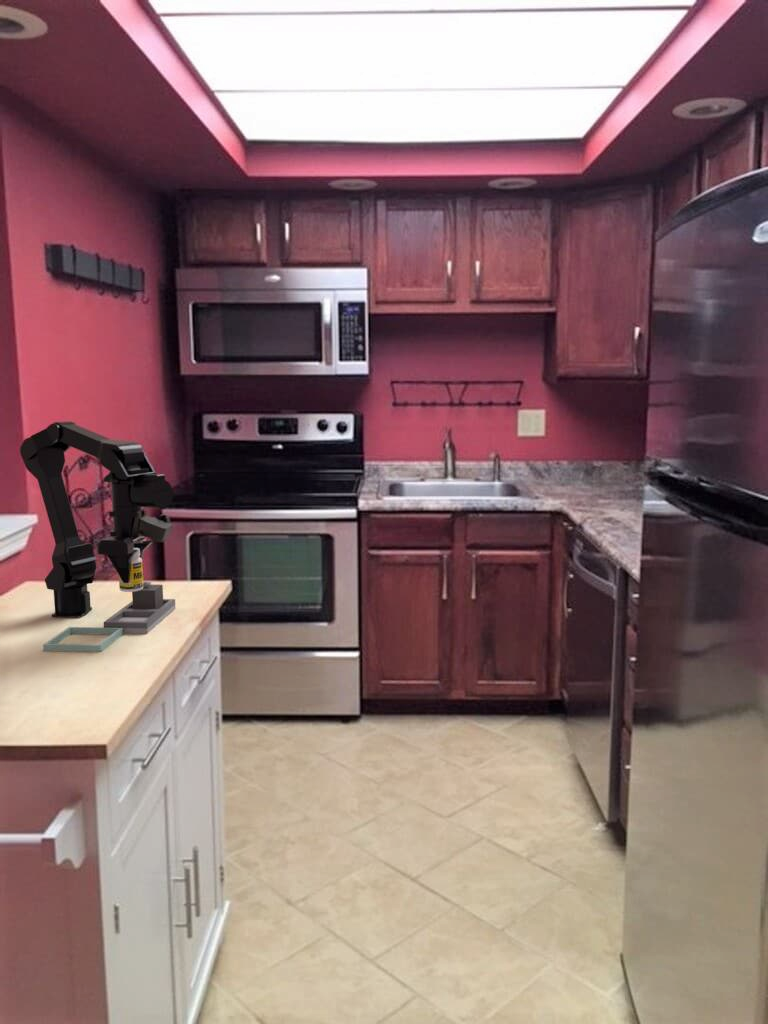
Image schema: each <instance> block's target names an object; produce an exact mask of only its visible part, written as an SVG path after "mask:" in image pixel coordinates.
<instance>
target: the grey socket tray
mask: <svg viewBox="0 0 768 1024" xmlns="http://www.w3.org/2000/svg"><path fill="white" fill-rule="evenodd" d="M163 604H164V605H163V606H162V607H161V608H159V609H133V600H131V602H129V603H127V604H126V605H125V606H124V607H122V608H121V609H119V610H118V611H117V612H116V613H114V614H112V616H109V618H107V619H106V620H104V621H103V628H123V634H149V633H150V632H151V631H152V630H153V629H155V627H156V625H159V624H160V623H161V622H162V621H163V620H165V619H166V618H167V617H169V615H170V614H171V613H173V610H174V611H175V610H176V609H177V608H176V599H175V598H163ZM166 616H167V617H166ZM165 617H166V618H165ZM150 630H151V631H150ZM149 631H150V632H149ZM148 632H149V633H148Z"/></svg>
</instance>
